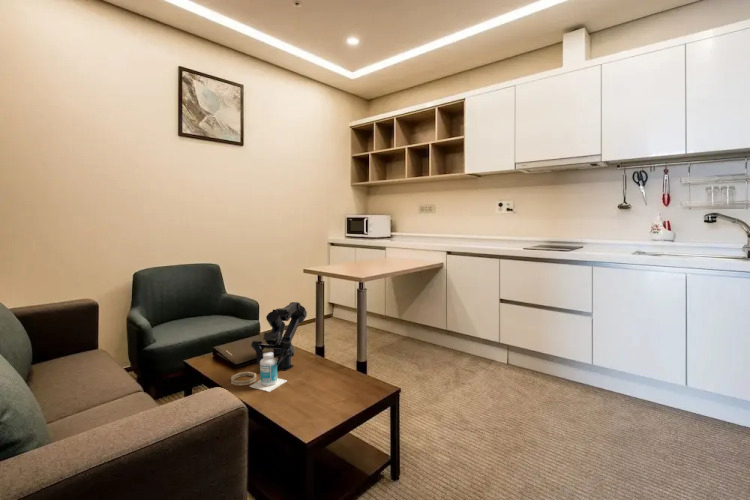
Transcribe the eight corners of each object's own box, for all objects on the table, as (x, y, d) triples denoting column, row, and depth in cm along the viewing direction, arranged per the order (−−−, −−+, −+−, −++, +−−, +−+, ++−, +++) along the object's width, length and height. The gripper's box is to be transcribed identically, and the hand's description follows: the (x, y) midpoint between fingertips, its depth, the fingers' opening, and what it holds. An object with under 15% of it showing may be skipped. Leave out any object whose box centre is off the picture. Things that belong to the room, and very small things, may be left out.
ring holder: (244, 373, 178) (244, 370, 178) (261, 377, 174) (261, 374, 173) (225, 382, 168) (225, 378, 168) (243, 387, 164) (243, 383, 164)
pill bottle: (274, 378, 172) (274, 349, 171) (279, 384, 166) (279, 354, 165) (258, 381, 169) (257, 352, 167) (262, 388, 162) (262, 357, 161)
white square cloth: (268, 376, 175) (268, 375, 175) (287, 381, 170) (287, 380, 170) (249, 386, 164) (249, 385, 164) (269, 392, 159) (268, 391, 159)
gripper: (252, 323, 170) (240, 355, 160) (291, 325, 168) (282, 358, 158) (260, 334, 179) (249, 366, 169) (297, 337, 176) (289, 368, 166)
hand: (267, 364), depth 165 cm, fingers open, 9 cm apart
